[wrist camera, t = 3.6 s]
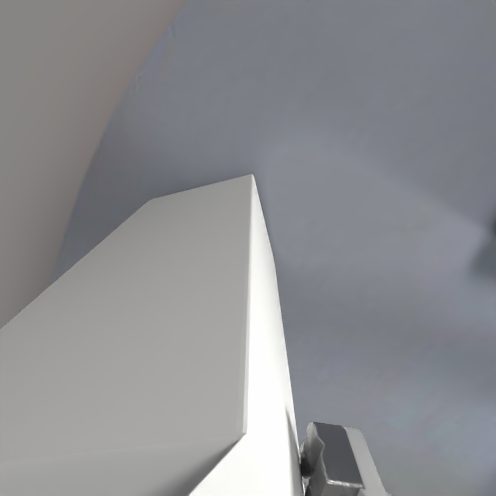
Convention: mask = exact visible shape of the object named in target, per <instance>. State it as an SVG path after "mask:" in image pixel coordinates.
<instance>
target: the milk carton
mask: <svg viewBox="0 0 496 496" xmlns="http://www.w3.org/2000/svg"><path fill="white" fill-rule="evenodd" d="M304 495H305V491H304V483H303V478H302V473H301V465H300V453H299V445H298V438H297V430H296V422H295V415H294V407H293V400H292V392H291V384H290V377H289V369H288V361H287V354H286V346H285V339H284V331H283V323H282V316H281V308H280V301H279V293H278V285H277V278H276V270H275V263H274V259H273V254H272V250H271V246H270V242H269V237H268V233H267V229H266V225H265V221H264V216H263V212H262V208H261V204H260V200H259V195H258V191H257V187H256V183H255V179H254V176H253V175H252V174H250V175H246V176H242V177H238V178H234V179H230V180H226V181H222V182H218V183H214V184H210V185H206V186H202V187H198V188H194V189H190V190H186V191H182V192H178V193H174V194H170V195H166V196H162V197H158V198H154V199H151V200H149V201H148V202H146V203H145V204H144V205H143V206H142V207H141V208H139V209H138V210H137V211H136V212H135V213H134V214H133V215H131V216H130V217H129V218H128V219H127V220H126V221H124V222H123V223H122V224H121V225H120V226H119V227H118V228H116V229H115V230H114V231H113V232H112V233H111V234H109V235H108V236H107V237H106V238H105V239H104V240H102V241H101V242H100V243H99V244H98V245H97V246H96V247H94V248H93V249H92V250H91V251H90V252H89V253H87V254H86V255H85V256H84V257H83V258H82V259H81V260H79V261H78V262H77V263H76V264H75V265H74V266H72V267H71V268H70V269H69V270H68V271H67V272H66V273H64V274H63V275H62V276H61V277H60V278H59V279H57V280H56V281H55V282H54V283H53V284H52V285H50V286H49V287H48V288H47V289H46V290H45V291H44V292H42V293H41V294H40V295H39V296H38V297H37V298H36V299H35V300H33V301H32V302H31V303H30V304H29V305H27V306H26V307H25V308H24V309H23V310H22V311H21V312H19V313H18V314H17V315H16V316H15V317H14V318H12V319H11V320H10V321H9V322H8V323H7V324H5V325H4V326H3V327H2V328H1V329H0V496H304Z"/></svg>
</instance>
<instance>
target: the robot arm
mask: <svg viewBox="0 0 496 496" xmlns="http://www.w3.org/2000/svg"><path fill="white" fill-rule="evenodd" d="M307 435H308V437H307V438H305V439H304V440H303V442H302V446H301V452H300V465H301V473H302V478H303V479H304V481H305V482H306V484H307V485H308V486H307V489H306V492H305V495H304V496H393V495H392V494H391V493H388V492H385V490H384V487H383V485H382V482H381V480H380V477H379V475H378V472H377V470H376V467H375V465H374V462H373V460H372V457H371V455H370V452H369V450H368V447H367V445H366V442H365V439H364V437H363V434H362V432H361V431H360V430H359V429H356V428H349V427H342V426H339V425H332V424H325V423H318V422H310V423H309V424H308V427H307Z"/></svg>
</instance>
